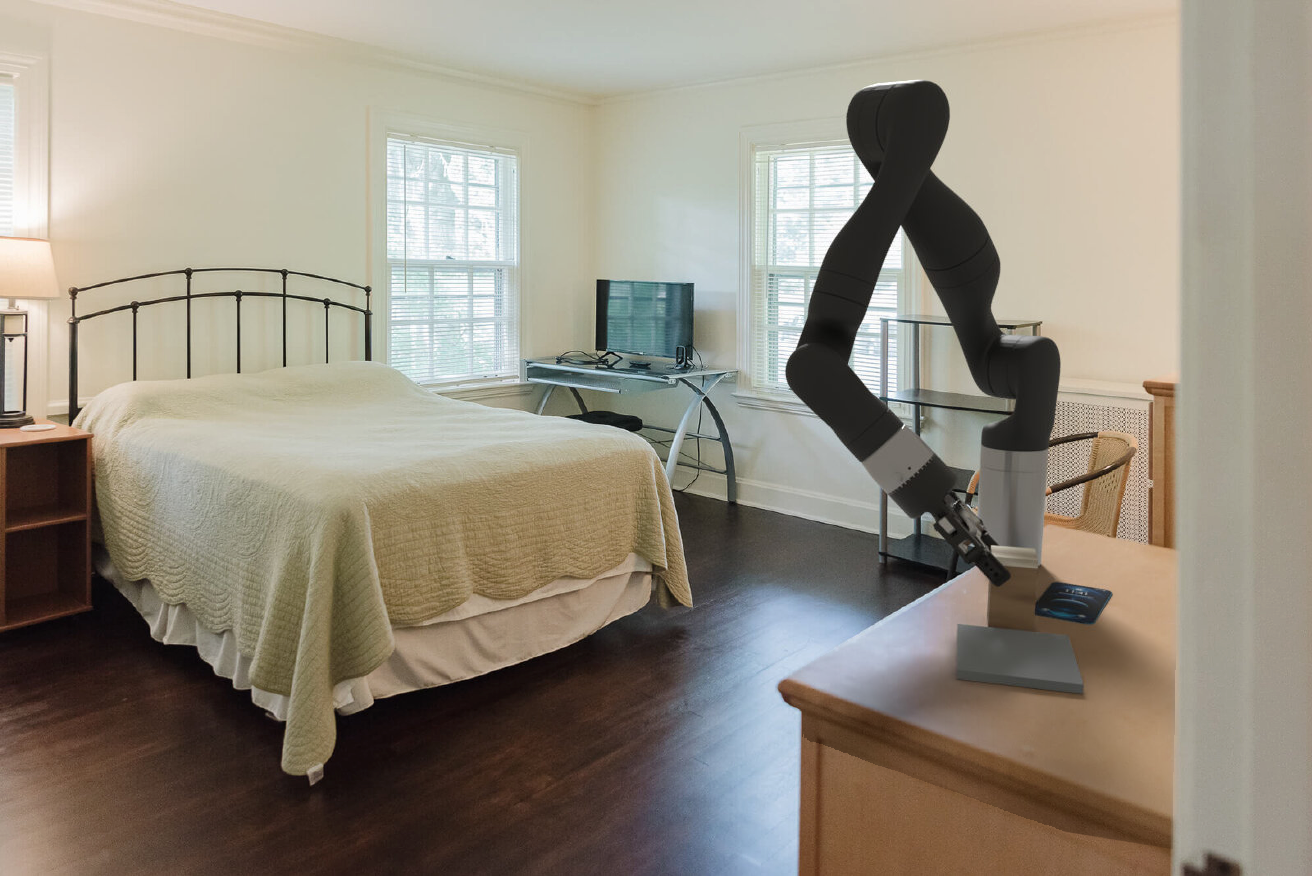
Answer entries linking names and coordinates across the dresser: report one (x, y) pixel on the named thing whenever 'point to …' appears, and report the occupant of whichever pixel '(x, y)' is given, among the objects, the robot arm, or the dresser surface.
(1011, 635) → the slate mat
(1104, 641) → the dresser surface
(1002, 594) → the tan rectangular block
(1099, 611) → the smartphone
